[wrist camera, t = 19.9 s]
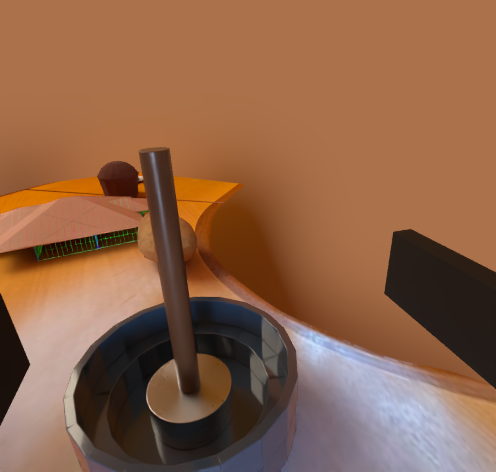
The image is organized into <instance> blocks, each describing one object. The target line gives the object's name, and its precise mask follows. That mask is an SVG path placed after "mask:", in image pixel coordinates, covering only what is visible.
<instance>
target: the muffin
mask: <svg viewBox="0 0 496 472" xmlns="http://www.w3.org/2000/svg"><path fill="white" fill-rule="evenodd" d="M138 173H139V172H137V171H136V170H135V168H134V167H133V166H131V165H130V164H128V163H126V162H122V161H115V162H110V163H107V164H106V165H105V166H104V167H102V168H101V170H100V172H99V174H98V176H97V177H98V179H99V181H100V184H101V186H102V189H103V191H104V194H105V196H113V197H132V198H133V197H136V196H137V194H138Z"/></svg>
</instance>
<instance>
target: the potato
mask: <svg viewBox="0 0 496 472" xmlns="http://www.w3.org/2000/svg"><path fill="white" fill-rule="evenodd" d="M179 224H180V231H181V239H182V246H183V254H184V261H185V262H186V261H188V260H189V259H191V257H192V256H193V254H194V252H195V251H196V248H197V239H196V235H195V232H194V230H193V228H192V227H191V225H190V224H189V223H188V222H186V221H185V220H183V219H182V218H180V217H179ZM138 247H139V249H140V250H141V252H142V254H143V255H144V257H145V258H148V259H150V260H153V261H155V262H157V257H156V251H155V245H154V239H153V233H152V228H151V222H150V216H149V213H147V214H146V215H145V216H144V217H143V218H142V219H141V221H140V223H139V228H138Z"/></svg>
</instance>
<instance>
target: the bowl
mask: <svg viewBox="0 0 496 472" xmlns="http://www.w3.org/2000/svg"><path fill="white" fill-rule="evenodd" d="M189 299H190V306H191V314H192V321H193V329H194V337H195V344H196V352H197V353H199V354H207V355H211V356H214V357H216V358H218V359H220V360H221V361H222V362H223V363H224V364H225V365H226V366H227V368H228V369H229V371H230V374H231V378H232V389H233V402H234V410H233V415H232V418H231V421H230V423H229V425H228V426H227V428H226V429H225V430H224V432H223V433H222V434H221V435H220V436H219V437H218V438H216V439H215V440H214V441H212V442H210V443H209V444H207V445H204V446H202V447H199V448H195V449H186V450H183V449H176V448H172V447H170V446H168V445H166V444H164V443H163V442H162V441H161V440H160V439H159V438H158V437H157V436H156V434H155V432H154V430H153V427H152V422H151V418H150V414H149V409H148V405H147V400H146V392H147V387H148V384H149V382H150V380H151V378H152V377H153V375H154V374H155V373H156V371H157V370H158V369H159V368H160V367H162V366H163V365H164V364H166V363H167V362H169V361H171V360H172V359H174V357H173V351H172V345H171V339H170V333H169V327H168V321H167V316H166V310H165V304H164V303H161V304H159V305H156V306H153V307H150V308H147V309H144V310H141V311H139V312H138V313H136V314H134V315H132V316H130V317H128V318H127V319H125V320H123V321H121V322H119V323H118V324H116V325H114V326H113V327H112V328H111V329H110V330H108V331H107V332H106V333H105V334H104V335H102V336H101V337H100V338H99V339H98V340H96V341H95V342H94V343H93V344H92V345H91V346H90V347H89V349H88V350H87V351H86V353H85V354H84V355H83V357H82V358H81V359H80V361H79V362H78V364H77V365H76V366H75V368H74V369H73V372H72V375H71V378H70V381H69V384H68V387H67V389H66V392H65V395H64V411H65V422H66V430H67V433H68V435H69V438H70V441H71V443H72V446H73V448H74V451H75V453H76V456H77V458H78V461H79V464H80V466H81V469H82V471H83V472H280V471H281V469H282V468H283V466H284V465H285V463H286V462H287V459H288V456H289V452H290V449H291V445H292V442H293V438H294V435H295V431H296V421H297V386H298V373H297V360H296V350H295V348H294V346H293V344H292V342H291V340H290V338H289V336H288V334H287V333H286V331H285V329H284V328H283V327H282V326H281V325H280V324H279V323H278V322H277V321H276V320H274V319H273V318H272V317H271V316H270V315H269V314H268V313H266V312H265V311H262V310H260V309H258V308H256V307H254V306H252V305H250V304H248V303H245V302H241V301H236V300H232V299H227V298H222V297H191V298H189Z"/></svg>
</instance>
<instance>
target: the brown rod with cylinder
mask: <svg viewBox="0 0 496 472" xmlns="http://www.w3.org/2000/svg"><path fill="white" fill-rule="evenodd" d="M139 156H140V163H141V169H142V175H143V181H144V187H145V192H146V198H147V204H148V210H149V216H150V222H151V228H152V233H153V239H154V245H155V251H156V257H157V263H158V269H159V274H160V280H161V286H162V292H163V298H164V304H165V310H166V316H167V321H168V327H169V333H170V339H171V345H172V351H173V357H174V359H172V360H171V361H169V362H167V363H166V364H164V365H163V366H162V367H160V368H159V369H158V370H157V371H156V373H155V374H154V375H153V377H152V378H151V380H150V382H149V384H148V387H147V392H146V400H147V405H148V409H149V414H150V418H151V422H152V427H153V430H154V432H155V434H156V436H157V437H158V438H159V439H160V440H161V441H162V442H163V443H164V444H166V445H168V446H170V447H172V448H176V449H183V450H186V449H195V448H199V447H202V446H204V445H207V444H209V443H210V442H212V441H214V440H215V439H216V438H218V437H219V436H220V435H221V434H222V433H223V432H224V430H225V429H226V428H227V426H228V425H229V423H230V421H231V418H232V415H233V410H234V402H233V389H232V378H231V374H230V371H229V369H228V368H227V366H226V365H225V364H224V363H223V362H222V361H221V360H220V359H218V358H216V357H214V356H211V355H207V354H199V353H197V352H196V344H195V337H194V329H193V321H192V314H191V306H190V299H189V291H188V284H187V276H186V269H185V261H184V254H183V246H182V239H181V231H180V224H179V216H178V209H177V201H176V194H175V186H174V178H173V171H172V163H171V156H170V149H169V148H164V147H163V148H162V147H159V148H147V149H142V150H139Z"/></svg>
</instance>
